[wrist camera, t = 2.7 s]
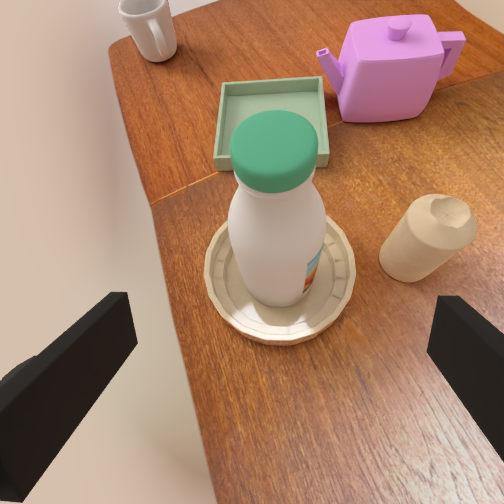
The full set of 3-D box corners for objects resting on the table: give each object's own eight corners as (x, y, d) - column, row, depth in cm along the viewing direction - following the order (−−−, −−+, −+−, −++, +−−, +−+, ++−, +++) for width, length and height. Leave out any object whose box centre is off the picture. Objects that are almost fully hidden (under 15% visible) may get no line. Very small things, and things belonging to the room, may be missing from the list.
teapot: (313, 129, 42) (322, 56, 33) (308, 81, 46) (315, 4, 37) (445, 120, 40) (494, 41, 31) (427, 71, 45) (465, -11, 35)
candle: (408, 293, 31) (460, 255, 22) (367, 257, 33) (400, 209, 24) (441, 261, 32) (504, 212, 23) (400, 229, 34) (442, 172, 25)
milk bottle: (284, 323, 30) (288, 232, 12) (230, 280, 33) (167, 152, 15) (327, 269, 32) (383, 122, 14) (272, 232, 35) (262, 69, 17)
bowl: (206, 344, 31) (196, 338, 27) (218, 220, 37) (211, 202, 33) (354, 348, 29) (364, 342, 25) (340, 217, 35) (347, 198, 32)
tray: (216, 171, 40) (213, 158, 38) (225, 97, 47) (222, 82, 44) (326, 167, 39) (329, 153, 36) (320, 91, 45) (322, 75, 43)
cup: (193, 66, 51) (179, 12, 43) (151, 82, 50) (128, 31, 43) (174, 35, 55) (158, -18, 48) (135, 50, 54) (112, -2, 47)
